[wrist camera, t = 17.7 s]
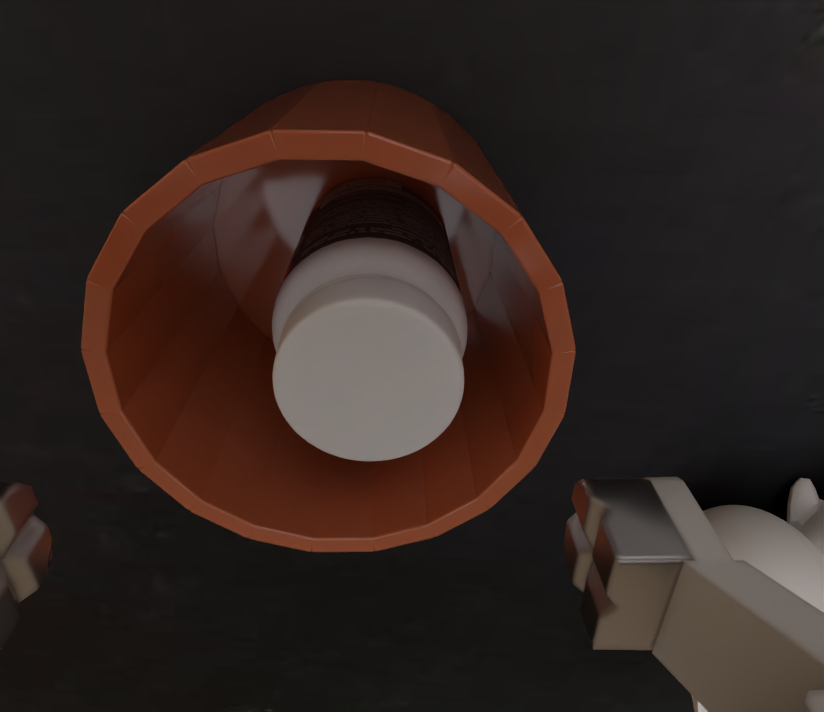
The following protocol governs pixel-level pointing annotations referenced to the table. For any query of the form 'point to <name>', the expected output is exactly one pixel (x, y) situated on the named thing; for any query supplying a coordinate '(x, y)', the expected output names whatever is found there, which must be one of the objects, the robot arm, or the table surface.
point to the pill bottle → (370, 325)
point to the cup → (253, 341)
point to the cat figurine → (778, 543)
